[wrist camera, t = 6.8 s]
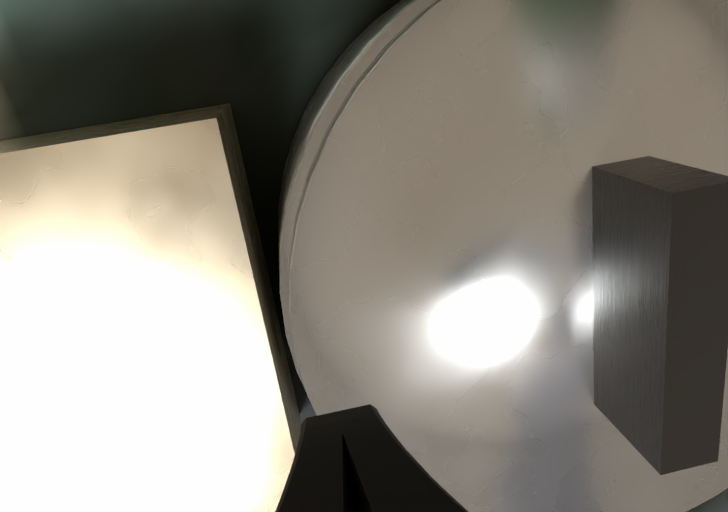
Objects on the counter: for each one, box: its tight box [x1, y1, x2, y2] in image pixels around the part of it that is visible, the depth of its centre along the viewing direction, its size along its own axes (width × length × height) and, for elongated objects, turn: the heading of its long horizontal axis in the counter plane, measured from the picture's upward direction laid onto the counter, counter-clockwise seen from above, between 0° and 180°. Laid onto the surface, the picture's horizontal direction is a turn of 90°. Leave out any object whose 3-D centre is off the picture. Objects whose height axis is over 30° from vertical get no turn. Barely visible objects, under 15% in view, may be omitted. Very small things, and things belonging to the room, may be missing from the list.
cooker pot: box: [0, 0, 435, 512], centre depth 18 cm, size 24×28×5 cm
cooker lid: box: [289, 0, 728, 512], centre depth 14 cm, size 18×18×4 cm
